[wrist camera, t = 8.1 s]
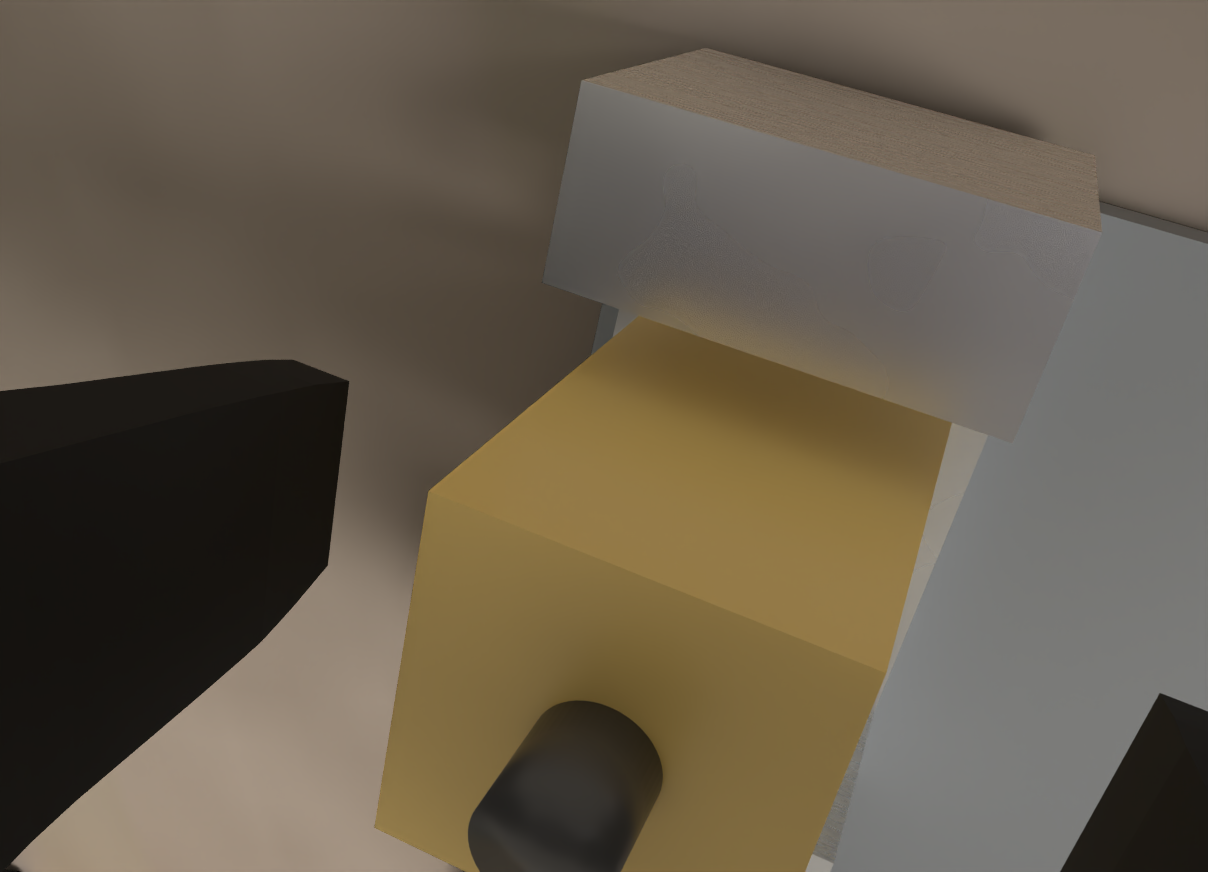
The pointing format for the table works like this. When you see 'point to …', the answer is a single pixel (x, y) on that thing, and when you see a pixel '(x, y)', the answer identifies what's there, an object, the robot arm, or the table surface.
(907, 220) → the block
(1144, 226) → the board
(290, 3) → the table surface
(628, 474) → the yellow block with knob
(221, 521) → the robot arm
